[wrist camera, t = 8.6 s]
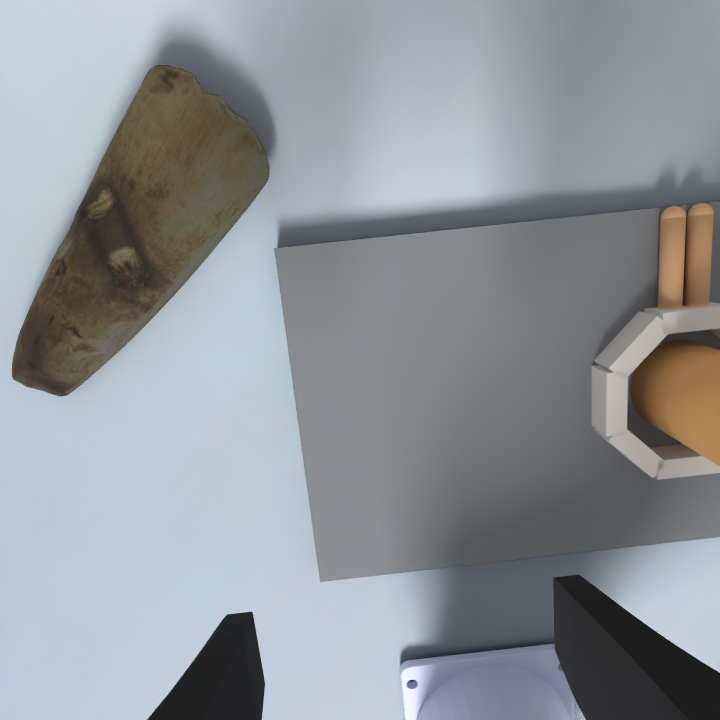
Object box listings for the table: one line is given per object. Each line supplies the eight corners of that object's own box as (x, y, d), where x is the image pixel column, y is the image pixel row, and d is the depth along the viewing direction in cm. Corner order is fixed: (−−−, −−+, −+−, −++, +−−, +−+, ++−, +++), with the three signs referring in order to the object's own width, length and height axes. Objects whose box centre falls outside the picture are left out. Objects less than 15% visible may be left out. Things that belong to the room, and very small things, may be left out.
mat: (767, 519, 23) (806, 546, 21) (321, 569, 23) (318, 601, 21) (795, 192, 20) (844, 188, 18) (277, 247, 20) (269, 249, 18)
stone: (176, 65, 19) (154, 43, 16) (292, 153, 19) (285, 143, 17) (6, 355, 21) (-34, 370, 19) (115, 423, 22) (90, 444, 19)
